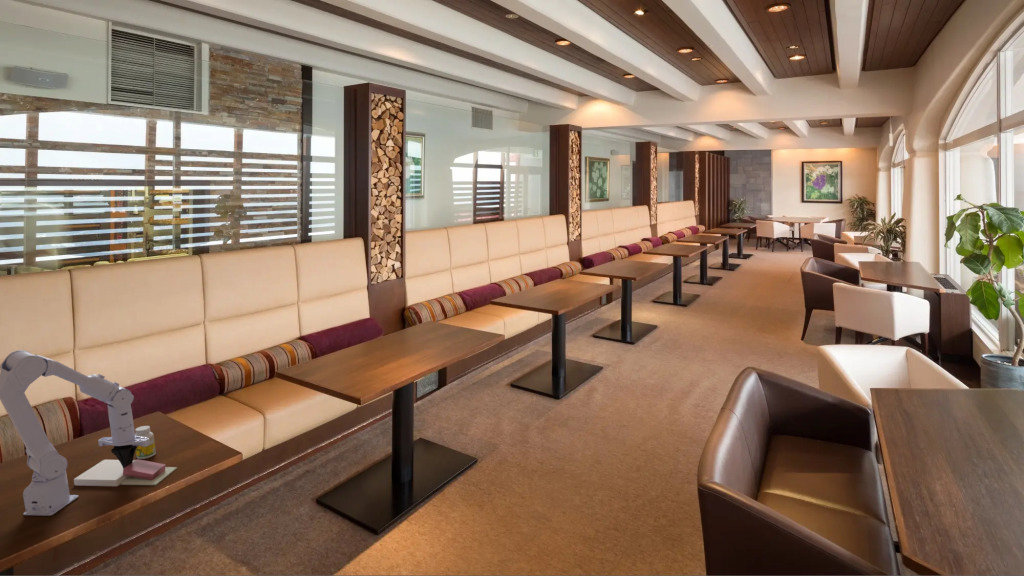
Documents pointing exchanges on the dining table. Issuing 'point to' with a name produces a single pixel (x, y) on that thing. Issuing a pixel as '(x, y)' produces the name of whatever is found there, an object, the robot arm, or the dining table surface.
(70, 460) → the dining table surface
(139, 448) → the supplement bottle
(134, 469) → the tile
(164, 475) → the mat
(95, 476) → the white flat block
